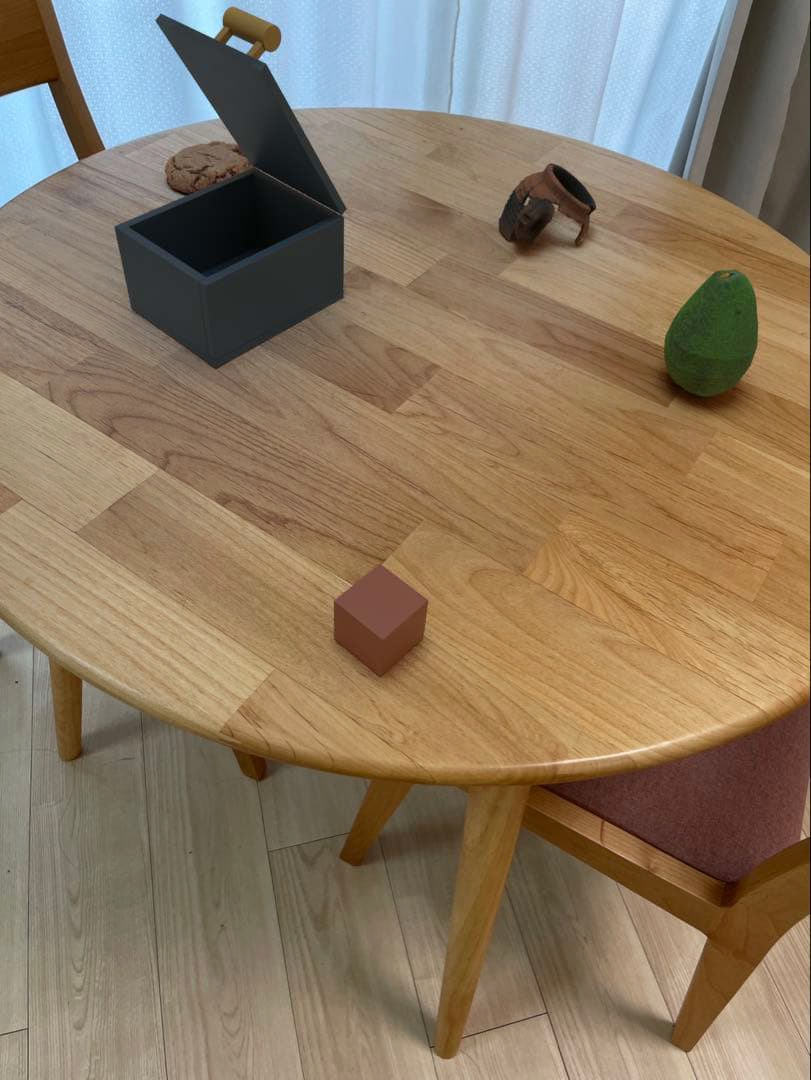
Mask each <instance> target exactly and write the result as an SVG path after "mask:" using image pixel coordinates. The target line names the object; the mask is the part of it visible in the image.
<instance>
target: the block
mask: <svg viewBox="0 0 811 1080" xmlns="http://www.w3.org/2000/svg"><path fill="white" fill-rule="evenodd" d="M428 606H429V599H428V598H427V597H425V596H423V595H422V594H421V593H420V592H418V591H417V590H416V589H414V588H413V587H412V586H410V585H409V584H408V583H406V582H405V581H404V580H402V579H401V578H400V577H398V576H397V575H396V574H395V573H394V572H392V571H391V570H389V569H388V568H386V567H385V566H384V565H383V564H382V563H379V564H377V565H376V566H375V567H373V568H372V569H371V570H370V571H369V572H367V573H366V574H365V575H364V576H363V577H361V578H360V579H359V580H357V581H356V582H355V583H354V584H353V585H351V586H350V587H349V588H348V589H346V590H345V591H344V592H343V593H341V594H340V595H339V596H338V597H336V598H335V599H334V600H333V639H334V640H335V641H336V642H337V643H339V644H340V645H341V646H342V647H343V648H344V649H346V650H347V651H348V652H350V653H351V655H353V656H355V658H357V659H358V660H359V661H361V662H362V663H363V664H364V665H365V666H366V667H368V668H369V669H370V670H371V671H372V672H373V673H375V675H378V677H382V676H383V675H385V673H386V672H387V671H389V670H390V669H391V668H392V667H393V666H394V665H395V664H396V663H398V662H399V661H400V660H401V659H402V658H403V657H404V656H405V655H407V653H409V652H410V651H411V650H412V649H413V648H414V647H415V646H417V644H418V643H419V642H421V641H422V640H423V639H424V636H425V629H426V622H427V614H428V608H429V607H428Z"/></svg>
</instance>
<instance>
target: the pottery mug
mask: <svg viewBox="0 0 811 1080" xmlns="http://www.w3.org/2000/svg"><path fill="white" fill-rule="evenodd" d="M528 198H529V200H528ZM527 200H528V201H527ZM526 202H527V204H525V203H526ZM554 205H556V206H558V207H557V212H559V213H560V214H562V215H565V216H566V217H567V218H569V219H573V220H574V221H575V222H576V223H578V224H581V227H580V231H579V232H578V234H577V236H576V238H575V239H574V243H575V245H578V244H580V243H581V241H582V240H583V239H584V237H585V235H586V234H587V232H588V230H589V225H590V218H591V214H592V213H594V211H596V210H597V204H596V200H595V199H594V197H593V195H592V193H590V191H588V188H587V187H585V185H584V184H583V183H582V182H581V181H580V180H579V179H577V177H576V175H575V176H574V174H572V173H571V172H570V171H568V170H567V169H566V168H564V167H562V166H561V165H558V164H555V163H548V164H547V165H546V167H545V168H544V170H542V171H537V172H535V173H531V174H529V175H527V176H525V177H524V178H523V179H522V180H520V181H519V183H518V184H517V185H516V186H515V188H513V190H512V193H510V195H509V198H508V199H507V200H506V203H505V204H504V207H503V211H502V213H501V216H500V217H499V218H498V226H499V229H500V232H501V233H502V234H503V236H504V237H505V239H506V240H507V241H509V242H511V241H512V240H513V237H514V234H515V235H516V237H517V239H518V241H519V242H521V243H523V244H528V245H533V244H535V241H537V240H538V237H539V236H540V234H541V232H542V231H543V230H544V229H545V228H546V227H547V226H548V224H550V223H551V222H552V219H553V217H554V214H555V210H556V209H555V206H554Z"/></svg>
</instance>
